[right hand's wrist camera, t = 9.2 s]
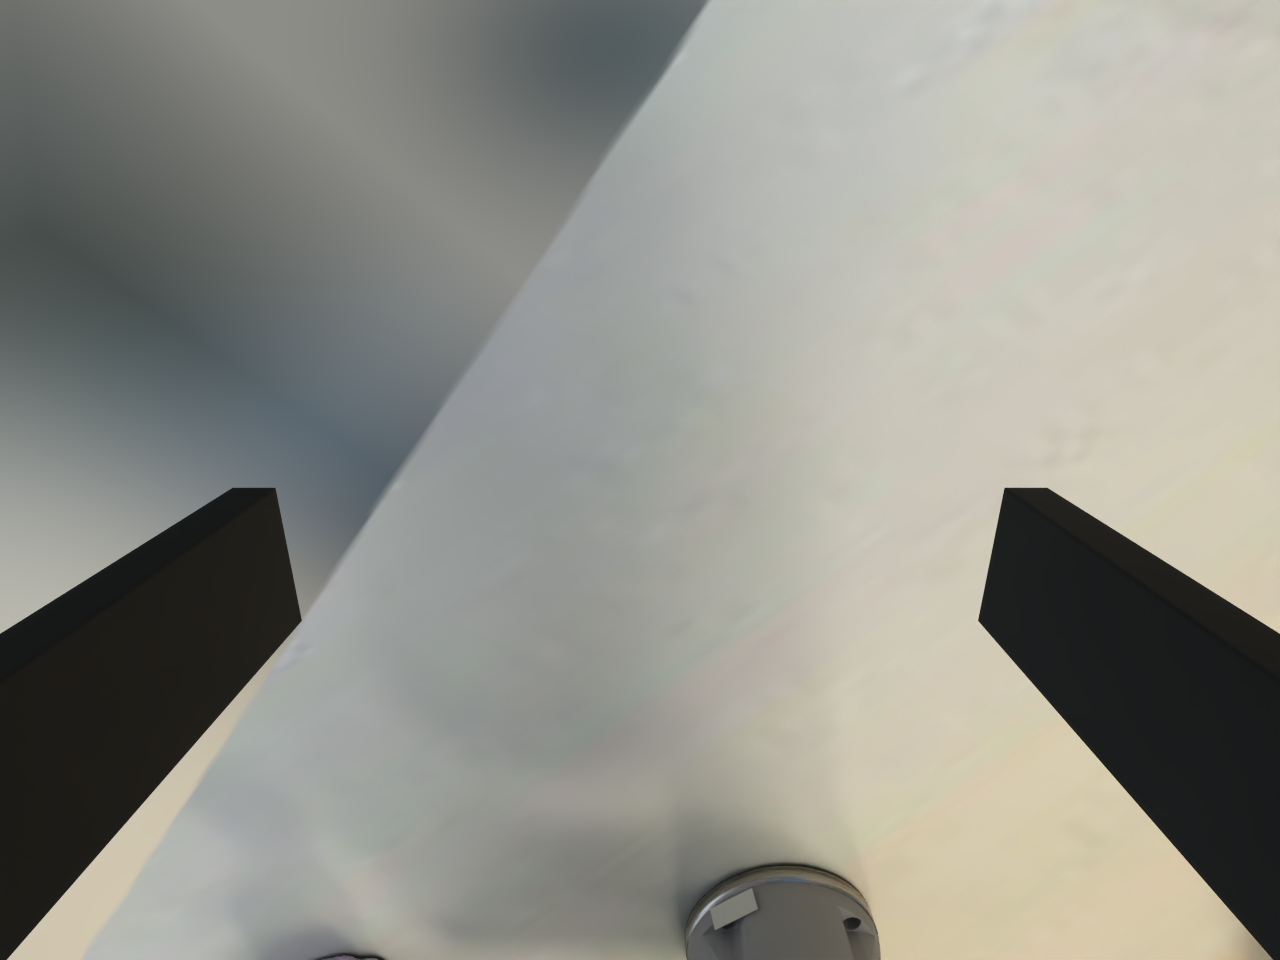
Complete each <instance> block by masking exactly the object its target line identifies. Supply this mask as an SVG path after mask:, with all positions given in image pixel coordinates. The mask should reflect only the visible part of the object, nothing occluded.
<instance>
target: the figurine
mask: <svg viewBox="0 0 1280 960" xmlns="http://www.w3.org/2000/svg"><path fill="white" fill-rule="evenodd" d="M322 960H378V959H375V958H369V959H368V958H365V959H358V958H354V957H353V956H345V955H343V956H336V957H333V958H327V959H322Z"/></svg>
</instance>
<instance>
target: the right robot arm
mask: <svg viewBox="0 0 1280 960" xmlns="http://www.w3.org/2000/svg"><path fill="white" fill-rule="evenodd" d="M301 621H302V619H301V614H300V609H299V605H298V599H297V594H296V589H295V584H294V579H293V574H292V569H291V564H290V559H289V554H288V549H287V544H286V539H285V534H284V529H283V524H282V519H281V514H280V509H279V504H278V499H277V494H276V489H275V488H232V489H230V490H229V491H227V492H225V493H224V494H222V495H221V496H219V497H218V498H216V499H214V500H213V501H211V502H210V503H208V504H206V505H205V506H203V507H202V508H200V509H198V510H197V511H195V512H194V513H192V514H190V515H189V516H187V517H186V518H184V519H182V520H181V521H179V522H178V523H176V524H175V525H173V526H171V527H170V528H168V529H167V530H165V531H163V532H162V533H160V534H159V535H157V536H155V537H154V538H152V539H151V540H149V541H147V542H146V543H144V544H143V545H141V546H139V547H138V548H136V549H135V550H133V551H131V552H130V553H128V554H127V555H125V556H124V557H122V558H120V559H119V560H117V561H116V562H114V563H112V564H111V565H109V566H108V567H106V568H104V569H103V570H101V571H100V572H98V573H96V574H95V575H93V576H92V577H90V578H89V579H87V580H85V581H84V582H82V583H81V584H79V585H77V586H76V587H74V588H73V589H71V590H69V591H68V592H66V593H65V594H63V595H61V596H60V597H58V598H57V599H55V600H54V601H52V602H50V603H49V604H47V605H45V606H44V607H42V608H41V609H39V610H37V611H36V612H34V613H33V614H31V615H30V616H28V617H26V618H25V619H23V620H22V621H20V622H18V623H17V624H15V625H14V626H12V627H11V628H9V629H7V630H6V631H4V632H2V633H1V634H0V960H7V959H8V958H9V956H10V955H11V954H12V953H13V952H14V951H15V949H16V948H17V947H18V946H19V945H20V944H21V943H22V941H23V940H24V939H25V938H26V937H27V936H28V935H29V933H30V932H31V931H32V930H33V929H34V928H35V927H36V925H37V924H38V923H39V922H40V921H41V920H42V918H43V917H44V916H45V915H46V914H47V913H48V912H49V910H50V909H51V908H52V907H53V906H54V905H55V904H56V902H57V901H58V900H59V899H60V898H61V897H62V895H63V894H64V893H65V892H66V891H67V890H68V889H69V888H70V886H71V885H72V884H73V883H74V882H75V881H76V879H77V878H78V877H79V876H80V875H81V874H82V873H83V871H84V870H85V869H86V868H87V867H88V866H89V864H90V863H91V862H92V861H93V860H94V859H95V858H96V856H97V855H98V854H99V853H100V852H101V851H102V850H103V848H104V847H105V846H106V845H107V844H108V843H109V841H110V840H111V839H112V838H113V837H114V836H115V835H116V833H117V832H118V831H119V830H120V829H121V828H122V827H123V825H124V824H125V823H126V822H127V821H128V820H129V819H130V817H131V816H132V815H133V814H134V813H135V812H136V811H137V809H138V808H139V807H140V806H141V805H142V804H143V803H144V801H145V800H146V799H147V798H148V797H149V796H150V794H151V793H152V792H153V791H154V790H155V789H156V788H157V786H158V785H159V784H160V783H161V782H162V781H163V780H164V778H165V777H166V776H167V775H168V774H169V773H170V771H171V770H172V769H173V768H174V767H175V766H176V765H177V763H178V762H179V761H180V760H181V759H182V758H183V757H184V755H185V754H186V753H187V752H188V751H189V750H190V749H191V747H192V746H193V745H194V744H195V743H196V742H197V740H198V739H199V738H200V737H201V736H202V735H203V734H204V732H205V731H206V730H207V729H208V728H209V727H210V726H211V724H212V723H213V722H214V721H215V720H216V719H217V718H218V716H219V715H220V714H221V713H222V712H223V711H224V709H225V708H226V707H227V706H228V705H229V704H230V703H231V701H232V700H233V699H234V698H235V697H236V696H237V695H238V693H239V692H240V691H241V690H242V689H243V688H244V686H245V685H246V684H247V683H248V682H249V681H250V680H251V678H252V677H253V676H254V675H255V674H256V673H257V672H258V670H259V669H260V668H261V667H262V666H263V665H264V664H265V662H266V661H267V660H268V659H269V658H270V657H271V655H272V654H273V653H274V652H275V651H276V650H277V649H278V647H279V646H280V645H281V644H282V643H283V642H284V641H285V639H286V638H287V637H288V636H289V635H290V634H291V633H292V631H293V630H294V629H295V628H296V627H297V626H298V624H299V623H300V622H301ZM978 621H979V622H980V623H981V624H982V626H983V627H984V628H985V629H986V630H987V631H988V633H989V634H990V635H991V636H992V637H993V638H994V639H995V641H996V642H997V643H998V644H999V645H1000V646H1001V647H1002V649H1003V650H1004V651H1005V652H1006V653H1007V654H1008V655H1009V657H1010V658H1011V659H1012V660H1013V661H1014V662H1015V664H1016V665H1017V666H1018V667H1019V668H1020V669H1021V670H1022V672H1023V673H1024V674H1025V675H1026V676H1027V677H1028V678H1029V680H1030V681H1031V682H1032V683H1033V684H1034V685H1035V686H1036V688H1037V689H1038V690H1039V691H1040V692H1041V693H1042V695H1043V696H1044V697H1045V698H1046V699H1047V700H1048V701H1049V703H1050V704H1051V705H1052V706H1053V707H1054V708H1055V709H1056V711H1057V712H1058V713H1059V714H1060V715H1061V716H1062V718H1063V719H1064V720H1065V721H1066V722H1067V723H1068V724H1069V726H1070V727H1071V728H1072V729H1073V730H1074V731H1075V732H1076V734H1077V735H1078V736H1079V737H1080V738H1081V739H1082V740H1083V742H1084V743H1085V744H1086V745H1087V746H1088V747H1089V749H1090V750H1091V751H1092V752H1093V753H1094V754H1095V755H1096V757H1097V758H1098V759H1099V760H1100V761H1101V762H1102V763H1103V765H1104V766H1105V767H1106V768H1107V769H1108V770H1109V771H1110V773H1111V774H1112V775H1113V776H1114V777H1115V778H1116V780H1117V781H1118V782H1119V783H1120V784H1121V785H1122V786H1123V788H1124V789H1125V790H1126V791H1127V792H1128V793H1129V794H1130V796H1131V797H1132V798H1133V799H1134V800H1135V801H1136V803H1137V804H1138V805H1139V806H1140V807H1141V808H1142V809H1143V811H1144V812H1145V813H1146V814H1147V815H1148V816H1149V817H1150V819H1151V820H1152V821H1153V822H1154V823H1155V824H1156V825H1157V827H1158V828H1159V829H1160V830H1161V831H1162V832H1163V834H1164V835H1165V836H1166V837H1167V838H1168V839H1169V840H1170V842H1171V843H1172V844H1173V845H1174V846H1175V847H1176V848H1177V850H1178V851H1179V852H1180V853H1181V854H1182V855H1183V856H1184V858H1185V859H1186V860H1187V861H1188V862H1189V863H1190V865H1191V866H1192V867H1193V868H1194V869H1195V870H1196V871H1197V873H1198V874H1199V875H1200V876H1201V877H1202V878H1203V879H1204V881H1205V882H1206V883H1207V884H1208V885H1209V886H1210V888H1211V889H1212V890H1213V891H1214V892H1215V893H1216V894H1217V896H1218V897H1219V898H1220V899H1221V900H1222V901H1223V902H1224V904H1225V905H1226V906H1227V907H1228V908H1229V909H1230V910H1231V912H1232V913H1233V914H1234V915H1235V916H1236V917H1237V919H1238V920H1239V921H1240V922H1241V923H1242V924H1243V925H1244V927H1245V928H1246V929H1247V930H1248V931H1249V932H1250V933H1251V935H1252V936H1253V937H1254V938H1255V939H1256V940H1257V941H1258V943H1259V944H1260V945H1261V946H1262V947H1263V948H1264V950H1265V951H1266V952H1267V953H1268V954H1269V955H1270V956H1271V958H1272V959H1273V960H1280V634H1279V633H1278V632H1276V631H1274V630H1273V629H1271V628H1270V627H1268V626H1266V625H1265V624H1263V623H1262V622H1260V621H1258V620H1257V619H1255V618H1254V617H1252V616H1250V615H1249V614H1247V613H1246V612H1244V611H1243V610H1241V609H1239V608H1238V607H1236V606H1235V605H1233V604H1231V603H1230V602H1228V601H1227V600H1225V599H1223V598H1222V597H1220V596H1219V595H1217V594H1215V593H1214V592H1212V591H1211V590H1209V589H1207V588H1206V587H1204V586H1203V585H1201V584H1200V583H1198V582H1196V581H1195V580H1193V579H1192V578H1190V577H1188V576H1187V575H1185V574H1184V573H1182V572H1180V571H1179V570H1177V569H1176V568H1174V567H1172V566H1171V565H1169V564H1168V563H1166V562H1164V561H1163V560H1161V559H1160V558H1158V557H1156V556H1155V555H1153V554H1152V553H1150V552H1149V551H1147V550H1145V549H1144V548H1142V547H1141V546H1139V545H1137V544H1136V543H1134V542H1133V541H1131V540H1129V539H1128V538H1126V537H1125V536H1123V535H1121V534H1120V533H1118V532H1117V531H1115V530H1113V529H1112V528H1110V527H1109V526H1107V525H1106V524H1104V523H1102V522H1101V521H1099V520H1098V519H1096V518H1094V517H1093V516H1091V515H1090V514H1088V513H1086V512H1085V511H1083V510H1082V509H1080V508H1078V507H1077V506H1075V505H1074V504H1072V503H1070V502H1069V501H1067V500H1066V499H1064V498H1063V497H1061V496H1059V495H1058V494H1056V493H1055V492H1053V491H1051V490H1050V489H1048V488H1005V489H1004V494H1003V499H1002V504H1001V509H1000V514H999V519H998V524H997V529H996V534H995V539H994V544H993V549H992V554H991V559H990V564H989V569H988V574H987V579H986V584H985V589H984V594H983V599H982V604H981V609H980V614H979V619H978ZM685 939H686V956H687V960H880V944H879V938H878V932H877V929H876V926H875V923H874V920H873V917H872V914H871V911H870V909H869V907H868V905H867V903H866V901H865V900H864V898H863V897H862V896H861V894H860V893H859V892H858V891H857V890H856V889H855V888H853V887H852V886H851V885H850V884H848V883H847V882H845V881H844V880H842V879H840V878H838V877H836V876H834V875H832V874H829V873H827V872H824V871H821V870H817V869H813V868H808V867H800V866H772V867H764V868H759V869H754V870H750V871H747V872H744V873H741V874H738V875H736V876H734V877H731V878H729V879H727V880H725V881H723V882H722V883H720V884H719V885H717V886H715V887H714V888H713V889H712V890H710V891H709V892H708V893H707V894H706V895H705V896H703V898H702V899H701V900H700V901H699V902H698V903H697V905H696V906H695V908H694V909H693V911H692V913H691V914H690V917H689V919H688V922H687V926H686V933H685Z"/></svg>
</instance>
